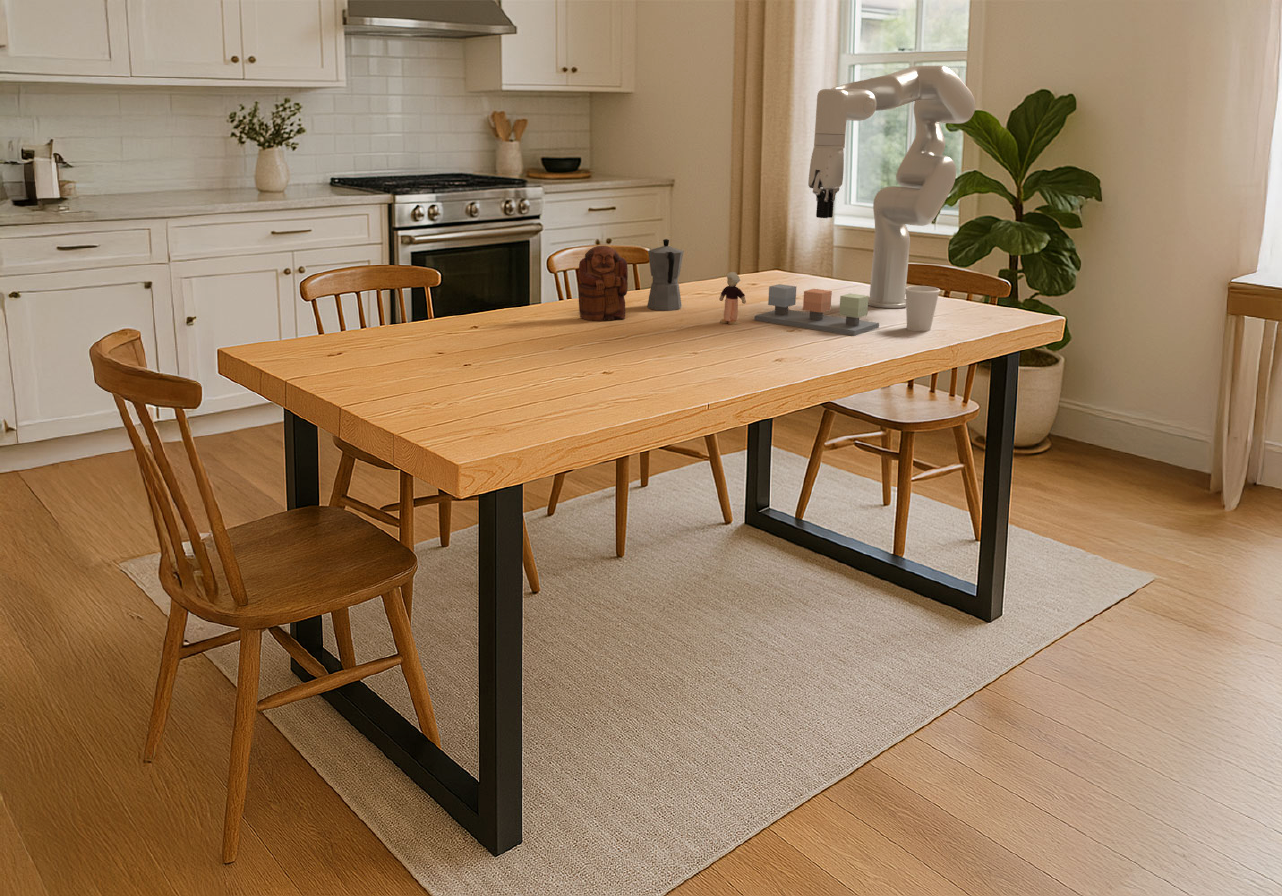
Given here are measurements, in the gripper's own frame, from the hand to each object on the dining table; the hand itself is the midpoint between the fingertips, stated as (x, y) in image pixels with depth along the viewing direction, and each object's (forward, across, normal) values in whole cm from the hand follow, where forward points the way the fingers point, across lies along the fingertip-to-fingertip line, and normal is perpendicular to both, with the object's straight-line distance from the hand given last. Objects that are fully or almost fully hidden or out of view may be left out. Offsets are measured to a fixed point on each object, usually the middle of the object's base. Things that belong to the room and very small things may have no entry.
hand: (824, 217), depth 274 cm
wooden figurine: (+25, +41, -38) cm, 61 cm away
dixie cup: (+25, -2, +27) cm, 37 cm away
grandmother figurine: (+25, +24, -11) cm, 37 cm away
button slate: (+22, +10, -5) cm, 24 cm away
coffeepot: (+25, +19, -35) cm, 47 cm away
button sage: (+22, +10, +15) cm, 28 cm away
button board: (+25, +10, +5) cm, 27 cm away
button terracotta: (+22, +10, +5) cm, 24 cm away
